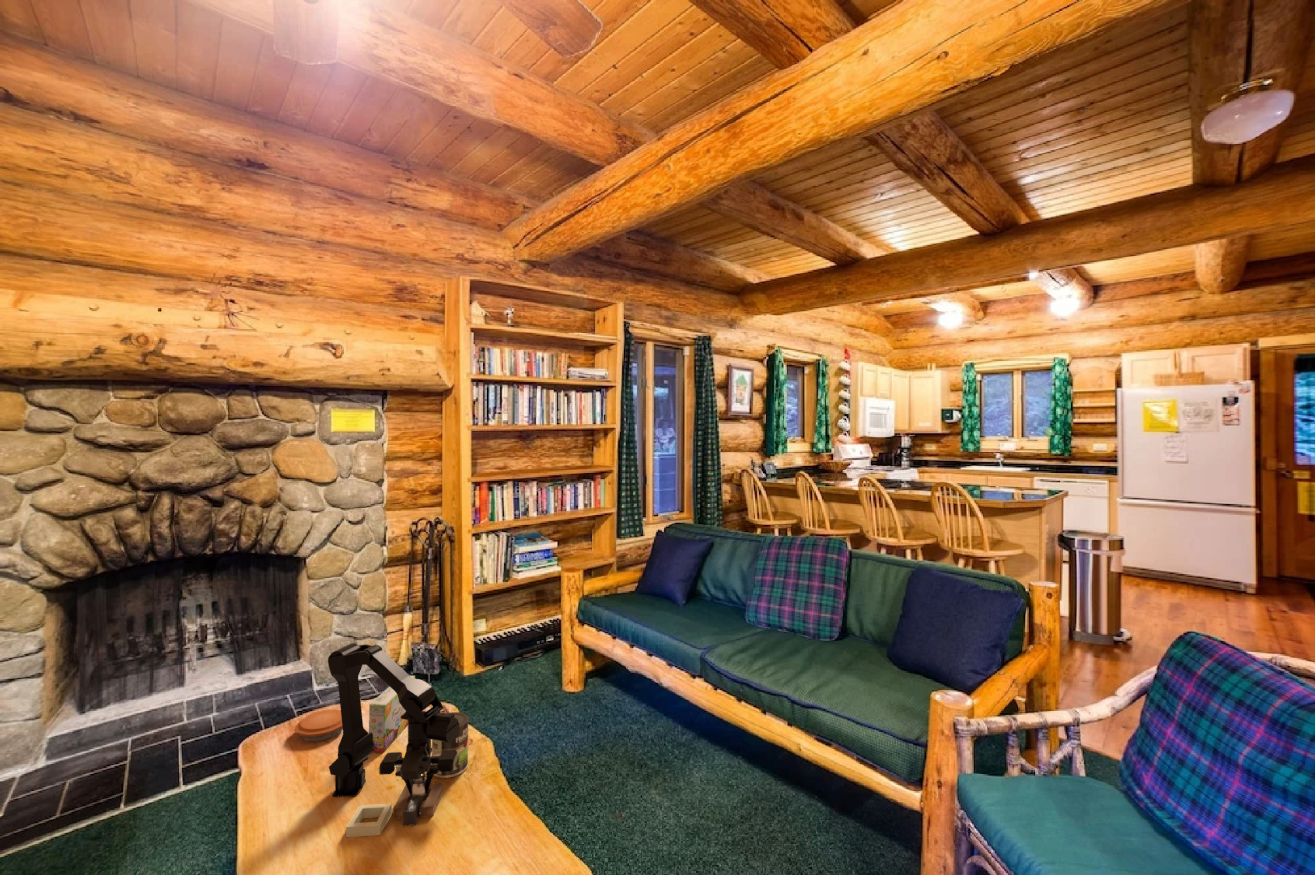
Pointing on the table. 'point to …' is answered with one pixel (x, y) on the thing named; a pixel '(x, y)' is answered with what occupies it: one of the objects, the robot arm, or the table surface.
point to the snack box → (386, 719)
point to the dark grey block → (412, 812)
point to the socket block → (427, 806)
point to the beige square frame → (369, 828)
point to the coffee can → (455, 747)
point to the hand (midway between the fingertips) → (419, 793)
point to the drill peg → (419, 788)
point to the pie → (320, 725)
